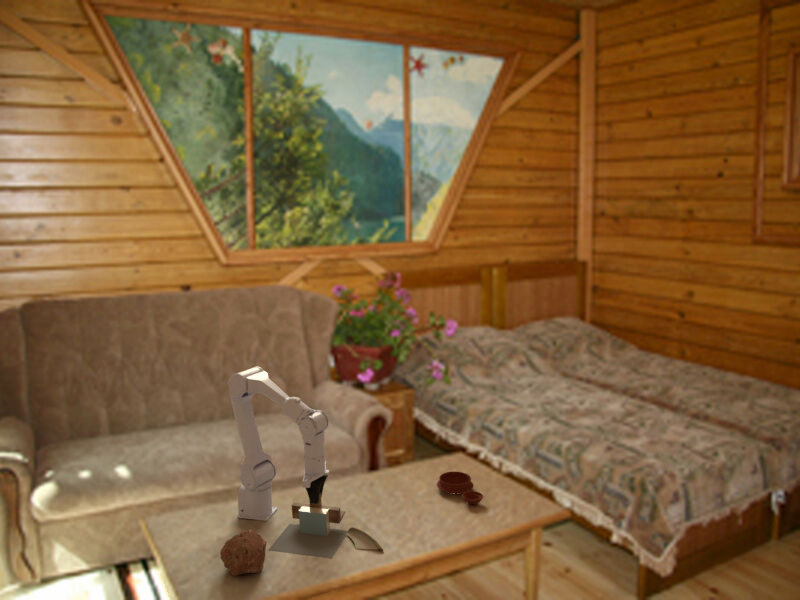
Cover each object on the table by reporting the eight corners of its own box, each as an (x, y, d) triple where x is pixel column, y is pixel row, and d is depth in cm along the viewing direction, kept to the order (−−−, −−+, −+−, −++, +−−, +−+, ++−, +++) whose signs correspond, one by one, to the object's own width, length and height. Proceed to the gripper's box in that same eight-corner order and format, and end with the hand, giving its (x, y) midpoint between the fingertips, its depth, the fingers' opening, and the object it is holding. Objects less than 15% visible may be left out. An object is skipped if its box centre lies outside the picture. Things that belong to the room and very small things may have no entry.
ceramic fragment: (384, 552, 192) (384, 538, 192) (369, 559, 189) (369, 545, 188) (350, 534, 202) (350, 521, 202) (336, 540, 199) (336, 527, 198)
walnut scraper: (292, 518, 204) (290, 492, 202) (299, 507, 209) (297, 482, 207) (339, 523, 201) (337, 497, 198) (345, 512, 206) (343, 487, 203)
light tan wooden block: (300, 532, 201) (298, 511, 200) (303, 527, 204) (301, 506, 202) (327, 536, 200) (325, 514, 198) (330, 531, 202) (328, 509, 200)
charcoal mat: (268, 550, 192) (268, 550, 192) (289, 524, 207) (289, 523, 207) (331, 559, 188) (331, 558, 188) (348, 531, 203) (348, 530, 203)
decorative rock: (256, 586, 176) (254, 548, 174) (213, 581, 178) (211, 544, 176) (274, 558, 189) (273, 523, 187) (234, 554, 191) (232, 519, 189)
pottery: (461, 480, 236) (462, 467, 236) (494, 505, 219) (494, 492, 218) (430, 487, 232) (430, 474, 231) (461, 513, 214) (461, 499, 213)
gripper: (319, 466, 191) (320, 514, 193) (336, 446, 205) (337, 491, 207) (294, 464, 192) (295, 511, 195) (313, 444, 206) (314, 489, 209)
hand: (315, 501), depth 201 cm, fingers closed on walnut scraper
